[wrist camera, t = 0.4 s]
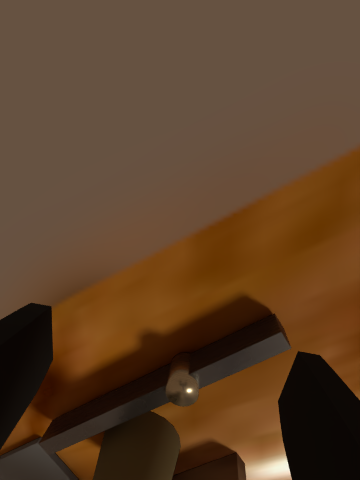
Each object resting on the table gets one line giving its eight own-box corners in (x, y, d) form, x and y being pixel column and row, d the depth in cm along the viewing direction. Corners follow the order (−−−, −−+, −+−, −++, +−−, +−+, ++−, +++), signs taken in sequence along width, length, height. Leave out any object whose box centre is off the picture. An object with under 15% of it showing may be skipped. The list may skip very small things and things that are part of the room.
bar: (65, 434, 24) (48, 465, 21) (49, 416, 23) (30, 446, 21) (286, 333, 19) (296, 359, 17) (271, 308, 19) (279, 331, 16)
